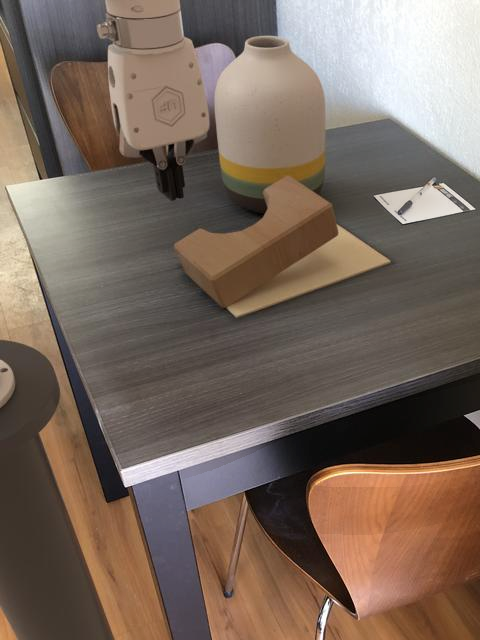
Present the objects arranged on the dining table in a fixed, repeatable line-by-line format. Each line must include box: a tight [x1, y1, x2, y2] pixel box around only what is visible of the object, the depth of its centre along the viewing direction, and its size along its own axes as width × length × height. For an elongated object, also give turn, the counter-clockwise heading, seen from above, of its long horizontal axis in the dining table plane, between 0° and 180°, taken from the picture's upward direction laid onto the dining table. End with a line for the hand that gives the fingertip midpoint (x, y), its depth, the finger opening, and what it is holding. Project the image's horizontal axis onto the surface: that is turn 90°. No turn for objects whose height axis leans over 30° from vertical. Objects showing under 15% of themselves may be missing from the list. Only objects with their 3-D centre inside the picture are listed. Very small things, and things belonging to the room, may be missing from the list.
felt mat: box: [225, 224, 391, 319], centre depth 107 cm, size 26×16×1 cm, turn 125°
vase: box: [213, 35, 326, 215], centre depth 114 cm, size 17×17×24 cm
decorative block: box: [173, 175, 339, 309], centre depth 101 cm, size 11×6×20 cm
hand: (172, 195), depth 90 cm, fingers closed
